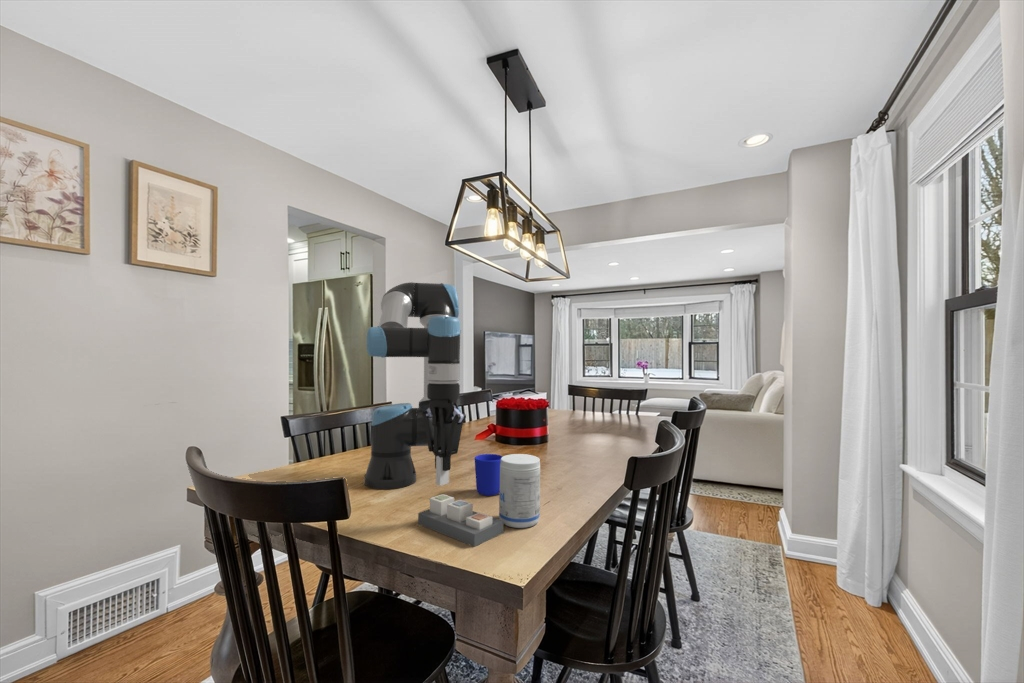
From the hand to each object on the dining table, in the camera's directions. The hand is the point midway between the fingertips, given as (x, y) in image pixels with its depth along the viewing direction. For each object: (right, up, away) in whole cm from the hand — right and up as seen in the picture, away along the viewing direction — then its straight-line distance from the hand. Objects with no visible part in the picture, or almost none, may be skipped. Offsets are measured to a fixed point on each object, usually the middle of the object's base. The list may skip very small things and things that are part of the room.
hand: (442, 483), depth 100 cm
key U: (+4, -7, -4) cm, 9 cm away
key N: (0, -7, 0) cm, 7 cm away
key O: (+9, -8, -7) cm, 14 cm away
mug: (+12, -10, +21) cm, 26 cm away
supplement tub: (+18, -9, +1) cm, 20 cm away
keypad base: (+4, -9, -4) cm, 10 cm away
